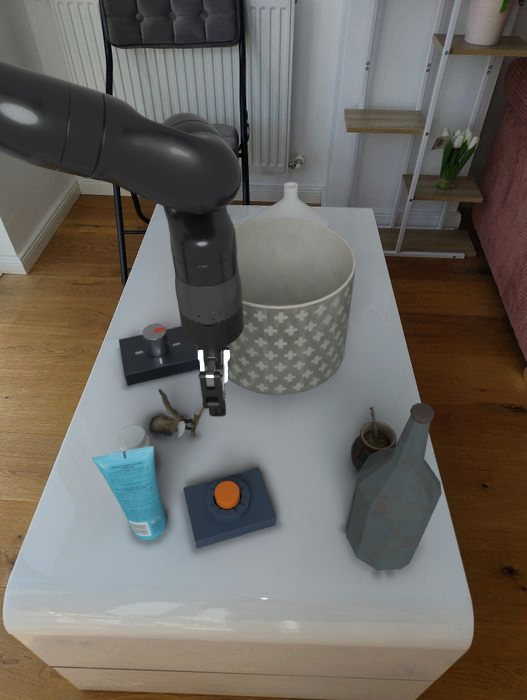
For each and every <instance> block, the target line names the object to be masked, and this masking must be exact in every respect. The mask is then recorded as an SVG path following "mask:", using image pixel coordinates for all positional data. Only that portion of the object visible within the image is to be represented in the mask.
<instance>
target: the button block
mask: <svg viewBox="0 0 527 700" xmlns="http://www.w3.org/2000/svg"><path fill="white" fill-rule="evenodd" d="M224 481H231V482H234V483H235V484H236V485H237V486H238V487H239V492H240V500H239V502H238V504H237V505H236V506H235V507H233V508H230V509H224V508H221V507H220V506H219V505H218V504H217V503H216V499H215V489H216V487H217V486H218V485H219V484H220V483H221V482H224ZM182 489H183V493H184V498H185V502H186V507H187V512H188V515H189V520H190V525H191V529H192V534H193V540H194V544H195V548H196V549H201V548H204V547H207V546H211V545H214V544H217V543H221V542H224V541H227V540H231V539H233V538H237V537H240V536H245V535H248V534H251V533H254V532H258V531H262V530H264V529H269V528H271V527H274V526H276V524H277V521H276V519H277V518H276V515H275V512H274V509H273V506H272V503H271V500H270V498H269V494H268V492H267V489H266V486H265V483H264V480H263V477H262V475H261V471H260V468H259V467H255V468H251V469H248V470H244V471H240V472H236V473H232V474H229V475H225V476H222V477H217V478H215V479H210V480H207V481H204V482H200V483H196V484H191V485H189V486H186V487H183V488H182Z"/></svg>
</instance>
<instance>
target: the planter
mask: <svg viewBox="0 0 527 700" xmlns="http://www.w3.org/2000/svg"><path fill="white" fill-rule="evenodd" d="M234 228H235V233H236V240H237V254H238V269H239V273H240V278H241V285H242V303H243V321H244V327H243V331H242V333H241V335H240V336H239V337H238V338H237V339H236V340H235V341H234V342H232V343H231V346H230V358H229V361H230V365H229V378H228V381H231V382H232V383H234V384H236V385H237V386H238V387H241V388H243V389H245V390H247V391H250V392H253V393H258V394H262V395H270V396H287V395H296V394H301V393H303V392H307V391H310V390H313V389H314V388H317V387H318V386H320V385H322V384H324V383H325V382H326V381H328V380H329V379H330V378H331V377H333V376H334V374H335V373H336V372H337V370H338V369H339V368H340V366H341V364H342V362H343V359H344V356H345V349H346V343H347V335H348V328H349V320H350V313H351V312H350V311H351V306H352V297H353V289H354V284H355V275H356V268H357V259H356V255H355V252H354V249H353V248H352V246H351V244H350V243H349V242H348V241H347V240H346V239H345V238H344V237H343V236H342V235H340V234H339V233H338V232H336V231H334V230H333V229H331V228H330V227H329V228H330V229H329V228H327V227H325V226H323V225H320V224H317V223H314V222H311V221H307V220H302V219H295V218H280V217H278V218H263V219H256V220H253V219H252V220H248V221H244V222H240V223H238V224H236V225H234ZM219 371H221V374H222V375H223V374H224V369H221V370H219Z"/></svg>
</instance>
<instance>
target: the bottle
mask: <svg viewBox="0 0 527 700" xmlns="http://www.w3.org/2000/svg"><path fill="white" fill-rule="evenodd" d="M409 412H410V415H409V417H408V419H407V421H406V424H405V425H404V428H403V429H402V432H401V433H400V436H399V437H398V439H397V441H396V446H395V447H394V448H389V449H384V450H379V451H377V452H375V453H373V454H371V455H369V456H368V458H367V460H366V461H365V463H364V464H363V466H362V468H361V469H360V471H358V472H357V475H356V480H355V484H354V489H353V494H352V499H351V503H350V508H349V511H348V518H347V521H346V527H345V529H346V530H345V531H346V532H345V534H346V537H345V538H346V539H347V541H348V543H349V546H350V547H351V549H352V552H353V553H354V555H355V557H356V559H358V560H360V561H361V562H363V563H365V564H366V565H368V566H369V567H371V568H373V569H374V570H376V571H393V570H395V571H396V570H402V569H404V568H405V567H406V566H408V565H410V563H411V561H412V559H413V558H414V555H415V553H416V551H417V550H418V547H419V545H420V543H421V541H422V538H423V536H424V534H425V532H426V529H427V527H428V525H429V523H430V520H431V518H432V516H433V514H434V512H435V509H436V507H437V506H438V503H439V501H440V498H441V497H442V494H443V493H442V486H441V484H442V483H441V480H440V479H439V478H438V477H437V475H436V474H435V472H434V470H433V469H432V467H431V466H430V464H429V463H428V462H427V460H426V459H425V456H426V452H427V451H426V449H427V445H428V439H429V433H430V427H431V421H433V419H434V417H435V411H434V410H433V408H432V407H431V405H429V404H427V403H425V402H416V403H415V404H413V405H412V406H411V408H409Z"/></svg>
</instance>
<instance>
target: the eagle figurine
mask: <svg viewBox="0 0 527 700" xmlns="http://www.w3.org/2000/svg"><path fill="white" fill-rule="evenodd" d="M158 393H159V395H160V396H161V401H162V405H163V406H164V408H165V410H166V411H167V412H168V413H169V415H171V417H172V418H171V417H168V416H164V415H163V414H161V413H158V414H157V415H154V416H153V417H151V419H150V420H149V423H148V425H149V431H150V432H151V433H152V434H154V435H158V434H159V435H162V436H163V437H171V436H172V435H173V434H174V433H175V432H176V431H177V438H178V439H180V438H182V437H183V435H184V433H185V431H190V433H191V435H193V437H195V436H196V429H197V426H198V424H199V421H200V419H201V417H202V414H203V412H204V410H205V409H204V408H203V405H202V407H201V408H200V410H199V411H198V413H196V412H193V415H192V416H193V417H192V418H186V417H185V416H184V415H182V414H181V413H180V412H179V411H178V409H176V408H175V407H173V406H172V405H171V402H170V401H169V399H168V396H167V394H166V393H165V392H164V391H163V390H162V389H161V388H158ZM186 424H187V425H186Z"/></svg>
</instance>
